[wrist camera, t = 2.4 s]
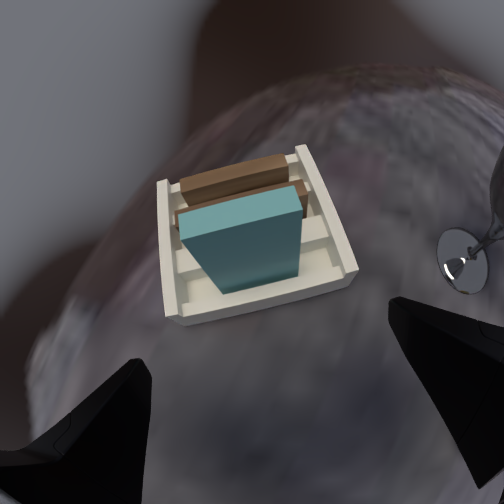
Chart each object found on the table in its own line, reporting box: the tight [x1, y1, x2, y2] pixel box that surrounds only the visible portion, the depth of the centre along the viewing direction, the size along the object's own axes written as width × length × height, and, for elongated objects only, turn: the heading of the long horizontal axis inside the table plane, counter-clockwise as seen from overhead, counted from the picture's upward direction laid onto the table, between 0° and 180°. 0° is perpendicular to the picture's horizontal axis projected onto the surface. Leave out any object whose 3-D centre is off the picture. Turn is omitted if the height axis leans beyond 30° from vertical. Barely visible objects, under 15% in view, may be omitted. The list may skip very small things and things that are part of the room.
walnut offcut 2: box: [174, 179, 308, 233], centre depth 22 cm, size 2×10×4 cm, turn 102°
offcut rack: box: [157, 144, 359, 326], centre depth 23 cm, size 12×14×4 cm
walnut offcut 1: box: [180, 153, 289, 207], centre depth 24 cm, size 2×9×4 cm, turn 102°
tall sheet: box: [178, 185, 303, 295], centre depth 18 cm, size 2×6×10 cm, turn 102°
